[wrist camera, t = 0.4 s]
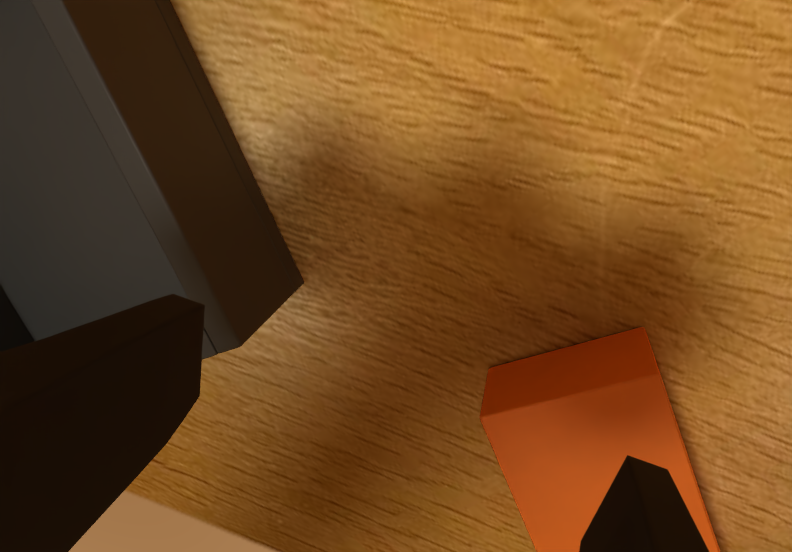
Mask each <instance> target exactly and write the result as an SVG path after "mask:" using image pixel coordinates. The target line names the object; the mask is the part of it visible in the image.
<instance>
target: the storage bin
mask: <svg viewBox="0 0 792 552" xmlns="http://www.w3.org/2000/svg"><path fill="white" fill-rule="evenodd" d="M303 284H304V281H303V279H302V277H301V275H300V273H299V271H298V269H297V267H296V265H295V263H294V260H293V258H292V256H291V254H290V252H289V250H288V248H287V246H286V244H285V242H284V240H283V237H282V235H281V233H280V231H279V229H278V227H277V225H276V223H275V221H274V219H273V217H272V214H271V212H270V210H269V208H268V206H267V204H266V202H265V200H264V198H263V196H262V194H261V191H260V189H259V187H258V185H257V183H256V181H255V179H254V177H253V175H252V173H251V171H250V168H249V166H248V164H247V162H246V160H245V158H244V156H243V154H242V152H241V150H240V148H239V145H238V143H237V141H236V139H235V137H234V135H233V133H232V131H231V129H230V127H229V124H228V122H227V120H226V118H225V116H224V114H223V112H222V110H221V108H220V106H219V104H218V101H217V99H216V97H215V95H214V93H213V91H212V89H211V87H210V85H209V83H208V81H207V78H206V76H205V74H204V72H203V70H202V68H201V66H200V64H199V62H198V60H197V58H196V55H195V53H194V51H193V49H192V47H191V45H190V43H189V41H188V39H187V37H186V35H185V32H184V30H183V28H182V26H181V24H180V22H179V20H178V18H177V16H176V14H175V12H174V9H173V7H172V5H171V3H170V1H169V0H0V352H2V351H5V350H8V349H11V348H15V347H18V346H21V345H24V344H27V343H31V342H34V341H37V340H40V339H43V338H47V337H49V336H52V335H55V334H58V333H61V332H64V331H67V330H70V329H72V328H75V327H78V326H81V325H84V324H87V323H89V322H92V321H95V320H98V319H101V318H104V317H106V316H109V315H112V314H115V313H117V312H120V311H123V310H126V309H129V308H131V307H134V306H137V305H140V304H143V303H146V302H148V301H151V300H154V299H157V298H160V297H164V296H167V295H171V294H175V295H178V296H181V297H184V298H187V299H190V300H192V301H195V302H198V303H201V304H204V305H205V311H204V328H203V345H202V359H205V358H208V357H211V356H214V355H217V354H218V353H222V352H225V351H229V350H232V349H235V348H238V347H240V346H242V345H243V344H244V342H245V341H246V340H247V339H248V338H249V337H250V336H251V335H252V334H253V333H254V332H255V331H256V330H257V329H258V328H259V327H260V326H261V325H262V324H263V323H264V322H265V321H266V320H267V319H268V318H269V317H270V316H271V315H272V314H273V313H274V312H275V311H276V310H277V309H278V308H279V307H280V306H281V305H282V304H283V303H284V302H285V301H286V300H287V299H288V298H289V297H290V296H291V295H292V294H293V293H294V292H296V291H297V290H298V289H299V288H300V287H301V286H302V285H303Z"/></svg>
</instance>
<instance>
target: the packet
mask: <svg viewBox="0 0 792 552" xmlns="http://www.w3.org/2000/svg"><path fill="white" fill-rule="evenodd" d="M480 420H481V423H482V425H483V427H484V430H485V432H486V434H487V437H488V439H489V441H490V444H491V446H492V448H493V451H494V453H495V455H496V458H497V460H498V462H499V465H500V467H501V469H502V472H503V474H504V476H505V479H506V481H507V483H508V486H509V488H510V490H511V493H512V495H513V498H514V500H515V502H516V505H517V507H518V509H519V512H520V514H521V516H522V519H523V521H524V523H525V526H526V528H527V530H528V533H529V535H530V537H531V540H532V542H533V544H534V547H535V549H536V551H537V552H579V550H580V543H581V540H582V538H583V536H584V534H585V532H586V530H587V529H588V527H589V525H590V523H591V521H592V519H593V517H594V516H595V514H596V512H597V510H598V508H599V506H600V505H601V503H602V501H603V499H604V497H605V495H606V493H607V492H608V490H609V488H610V486H611V484H612V482H613V481H614V479H615V477H616V475H617V473H618V471H619V469H620V468H621V466H622V464H623V462H624V460H625V458H626V457H627V455H629V456H631V457H634V458H637V459H640V460H643V461H645V462H648V463H651V464H654V465H657V466H659V467H662V468H665V469H668V471H669V473H670V475H671V477H672V479H673V481H674V483H675V485H676V487H677V489H678V491H679V493H680V495H681V497H682V499H683V501H684V503H685V505H686V507H687V508H688V510H689V512H690V514H691V516H692V518H693V520H694V522H695V524H696V526H697V528H698V530H699V532H700V534H701V536H702V538H703V540H704V542H705V544H706V546H707V548H708V550H709V552H720V549H719V546H718V543H717V540H716V537H715V534H714V531H713V528H712V525H711V522H710V519H709V516H708V514H707V511H706V508H705V505H704V502H703V499H702V496H701V493H700V490H699V487H698V484H697V481H696V478H695V475H694V472H693V469H692V466H691V463H690V460H689V457H688V454H687V451H686V448H685V445H684V442H683V439H682V437H681V434H680V431H679V428H678V425H677V422H676V419H675V416H674V413H673V410H672V407H671V404H670V401H669V398H668V395H667V392H666V389H665V386H664V383H663V380H662V377H661V374H660V371H659V368H658V365H657V362H656V359H655V357H654V354H653V351H652V348H651V345H650V342H649V339H648V336H647V333H646V330H645V328H644V327H640V328H636V329H632V330H629V331H625V332H621V333H617V334H614V335H610V336H606V337H603V338H599V339H595V340H591V341H588V342H584V343H580V344H577V345H573V346H569V347H565V348H562V349H558V350H554V351H551V352H547V353H543V354H539V355H536V356H532V357H528V358H525V359H521V360H517V361H513V362H510V363H506V364H502V365H499V366H495V367H491V368H489V369H488V374H487V379H486V385H485V390H484V396H483V402H482V407H481V413H480Z"/></svg>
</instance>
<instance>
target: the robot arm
mask: <svg viewBox="0 0 792 552" xmlns="http://www.w3.org/2000/svg"><path fill="white" fill-rule="evenodd" d="M204 311H205V305H204V304H201V303H198V302H195V301H192V300H190V299H187V298H184V297H181V296H178V295H175V294H171V295H167V296H164V297H160V298H157V299H154V300H151V301H148V302H146V303H143V304H140V305H137V306H134V307H131V308H129V309H126V310H123V311H120V312H117V313H115V314H112V315H109V316H106V317H104V318H101V319H98V320H95V321H92V322H89V323H87V324H84V325H81V326H78V327H75V328H72V329H70V330H67V331H64V332H61V333H58V334H55V335H52V336H49V337H47V338H43V339H40V340H37V341H34V342H31V343H27V344H24V345H21V346H18V347H15V348H11V349H8V350H5V351H2V352H0V552H68V551H69V550H70V549H71V548H72V547H73V546H74V545H75V544H76V542H77V541H78V540H79V539H80V538H81V537H82V536H83V535H84V534H85V533H86V532H87V530H88V529H89V528H90V527H91V526H92V525H93V524H94V523H95V522H96V520H98V518H99V517H100V516H101V515H102V514H103V513H104V512H105V511H106V510H107V508H108V507H109V506H110V505H111V504H112V503H113V502H114V501H115V500H116V499H117V498H118V497H119V496H120V494H121V493H122V492H123V491H124V490H125V489H126V488H127V487H128V486H129V485H130V484H131V482H132V481H133V480H134V479H135V478H136V477H137V476H138V475H139V474H140V472H141V471H142V470H143V469H144V468H145V467H146V466H147V465H148V464H149V462H150V461H151V460H152V459H153V458H154V457H155V456H156V455H157V454H158V452H159V451H160V450H161V449H162V448H163V447H164V446H165V444H166V443H167V442H168V441H169V439H170V438H171V436H172V435H173V434H174V432H175V431H176V429H177V428H178V427H179V425H180V424H181V423H182V421H183V420H184V418H185V417H186V415H187V414H188V412H189V411H190V409H191V408H192V406H193V405H194V403H195V402H196V400H197V399H198V397H199V395H200V379H201V362H202V345H203V328H204ZM579 552H709V550H708V548H707V546H706V544H705V542H704V540H703V538H702V536H701V534H700V532H699V530H698V528H697V526H696V524H695V522H694V520H693V518H692V516H691V514H690V512H689V510H688V508H687V507H686V505H685V503H684V501H683V499H682V497H681V495H680V493H679V491H678V489H677V487H676V485H675V483H674V481H673V479H672V477H671V475H670V473H669V471H668V469H665V468H662V467H659V466H657V465H654V464H651V463H648V462H645V461H643V460H640V459H637V458H634V457H631V456H629V455H627V457H626V458H625V460H624V462H623V464H622V466H621V468H620V469H619V471H618V473H617V475H616V477H615V479H614V481H613V482H612V484H611V486H610V488H609V490H608V492H607V493H606V495H605V497H604V499H603V501H602V503H601V505H600V506H599V508H598V510H597V512H596V514H595V516H594V517H593V519H592V521H591V523H590V525H589V527H588V529H587V530H586V532H585V534H584V536H583V538H582V540H581V543H580V550H579Z"/></svg>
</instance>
